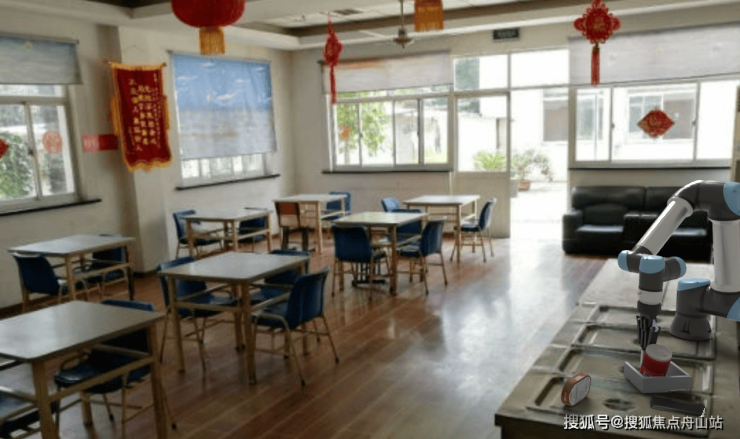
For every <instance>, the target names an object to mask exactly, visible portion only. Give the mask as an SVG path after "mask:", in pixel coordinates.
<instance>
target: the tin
mask: <svg viewBox="0 0 740 439" xmlns="http://www.w3.org/2000/svg"><path fill="white" fill-rule="evenodd" d="M591 384H592V377H591V375H590V374H588V373H584V372H583V371H581V372H578V373H576V374H575V375H573V376H571V377H570V378H568V379H566V381H565V383H564V385H563V387H562V389H561V393H560V402H561V403H562V404H563V405H566V406H568V407H574V406H575V405H577V404H578V403H579V404H580V402H581V401H584V400H585V399H586V398H587V396H588V395H589V392H591Z"/></svg>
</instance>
